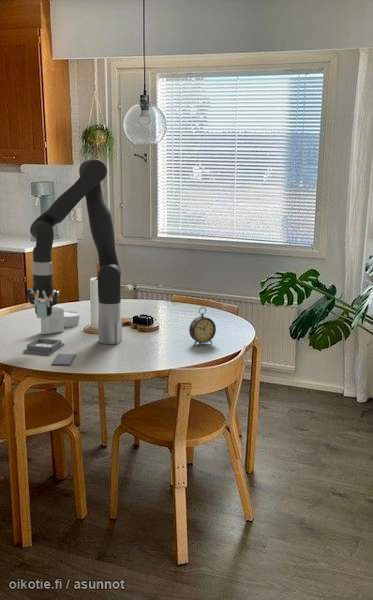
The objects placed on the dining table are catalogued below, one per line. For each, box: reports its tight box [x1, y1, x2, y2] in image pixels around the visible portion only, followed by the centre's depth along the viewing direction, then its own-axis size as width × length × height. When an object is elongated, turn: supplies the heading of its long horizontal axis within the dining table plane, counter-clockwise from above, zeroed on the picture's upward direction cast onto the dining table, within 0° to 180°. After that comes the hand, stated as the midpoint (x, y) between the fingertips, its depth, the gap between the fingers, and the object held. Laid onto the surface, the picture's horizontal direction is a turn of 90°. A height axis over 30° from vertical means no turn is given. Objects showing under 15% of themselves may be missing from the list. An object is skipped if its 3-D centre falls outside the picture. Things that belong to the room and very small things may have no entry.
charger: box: [36, 300, 51, 319], centre depth 233 cm, size 4×4×6 cm
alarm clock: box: [188, 306, 217, 347], centre depth 248 cm, size 11×5×16 cm, turn 117°
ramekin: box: [64, 310, 81, 328], centre depth 271 cm, size 11×11×5 cm
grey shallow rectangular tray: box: [22, 337, 66, 356], centre depth 236 cm, size 11×14×3 cm
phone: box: [51, 353, 77, 367], centre depth 224 cm, size 7×12×1 cm, turn 1°
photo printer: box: [40, 304, 65, 335], centre depth 258 cm, size 10×4×12 cm, turn 123°
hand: (43, 314), depth 233 cm, fingers closed on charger, 4 cm apart
